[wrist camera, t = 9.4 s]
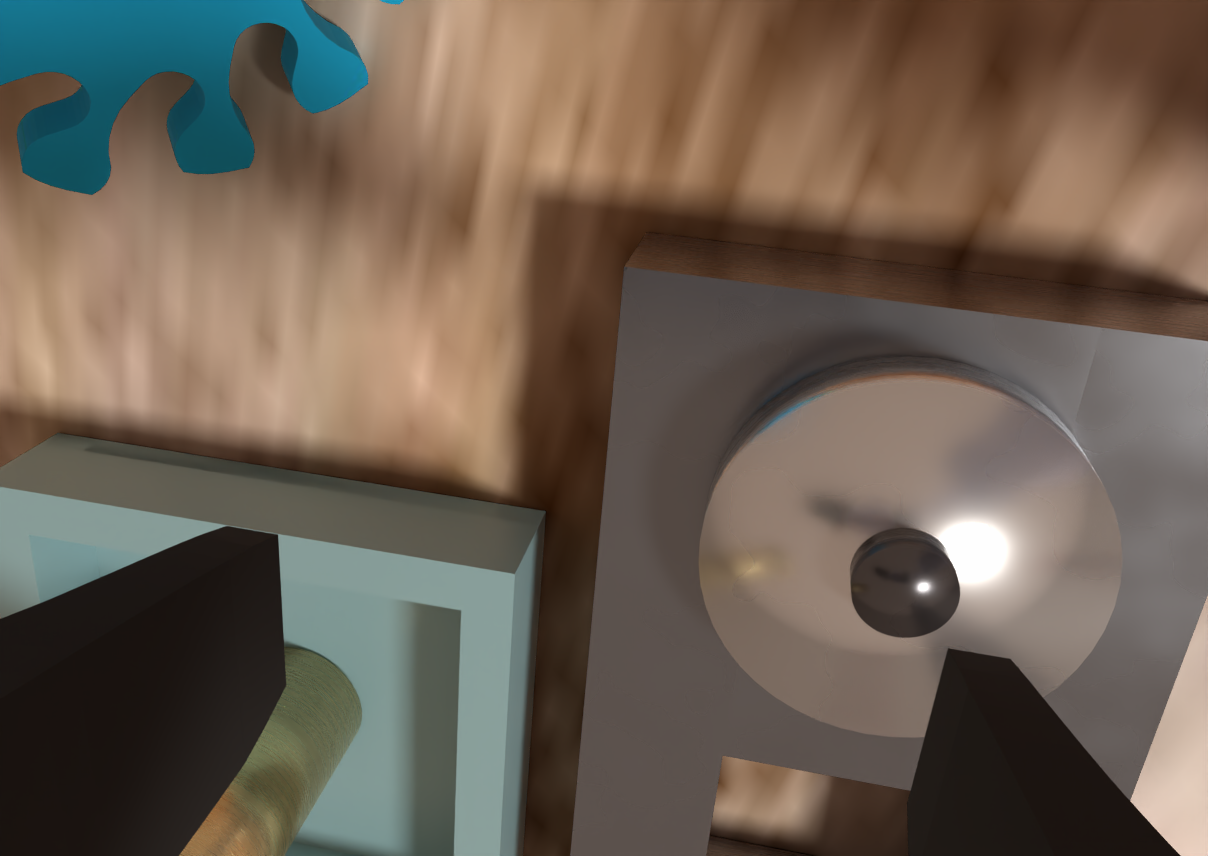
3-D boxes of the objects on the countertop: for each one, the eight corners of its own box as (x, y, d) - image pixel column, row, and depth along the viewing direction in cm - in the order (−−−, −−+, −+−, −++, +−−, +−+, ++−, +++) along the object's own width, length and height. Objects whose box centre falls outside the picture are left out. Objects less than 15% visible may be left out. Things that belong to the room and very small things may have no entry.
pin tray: (546, 511, 21) (514, 574, 19) (520, 899, 26) (492, 987, 24) (57, 433, 23) (-26, 482, 20) (114, 812, 27) (51, 887, 25)
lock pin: (419, 681, 23) (218, 1044, 15) (353, 804, 25) (148, 1181, 17) (240, 587, 23) (-52, 907, 15) (189, 719, 25) (-92, 1061, 17)
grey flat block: (1235, 304, 17) (1357, 398, 13) (1001, 985, 24) (1038, 1178, 20) (646, 232, 19) (604, 298, 15) (580, 896, 25) (539, 1061, 22)
